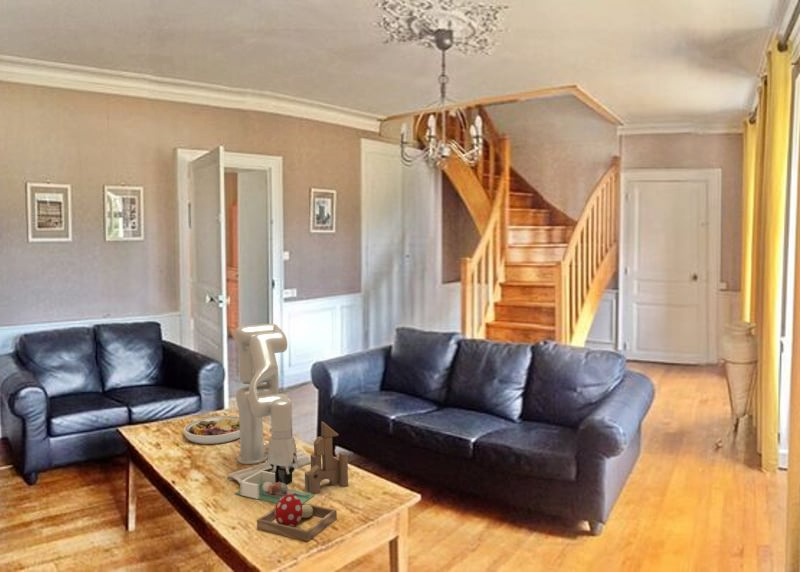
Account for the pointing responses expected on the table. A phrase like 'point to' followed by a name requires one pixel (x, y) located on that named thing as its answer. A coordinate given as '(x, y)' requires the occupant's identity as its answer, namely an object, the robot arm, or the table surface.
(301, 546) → the table surface
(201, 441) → the bowl
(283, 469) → the knobbed pusher
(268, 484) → the ball
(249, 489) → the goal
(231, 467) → the table surface
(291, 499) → the decorative mushroom
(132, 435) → the table surface
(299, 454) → the newspaper
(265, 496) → the green railed board
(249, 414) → the robot arm
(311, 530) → the display tray
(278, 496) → the rail
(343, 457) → the wooden toy
